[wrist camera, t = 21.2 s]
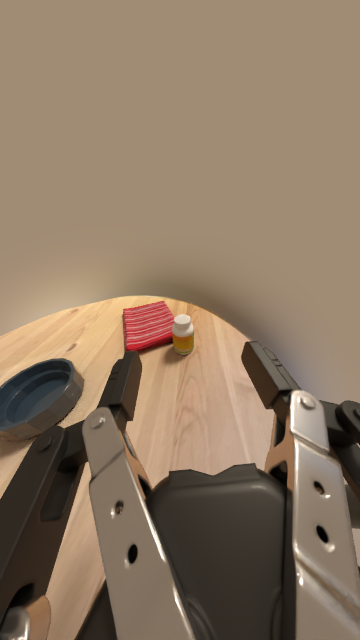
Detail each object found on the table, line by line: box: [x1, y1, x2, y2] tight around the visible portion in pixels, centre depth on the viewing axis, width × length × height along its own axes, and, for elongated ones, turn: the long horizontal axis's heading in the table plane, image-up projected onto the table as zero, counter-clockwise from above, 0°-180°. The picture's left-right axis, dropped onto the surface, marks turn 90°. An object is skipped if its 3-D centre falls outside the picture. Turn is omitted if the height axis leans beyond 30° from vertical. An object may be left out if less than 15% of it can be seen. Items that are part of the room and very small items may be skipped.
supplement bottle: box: [172, 315, 194, 355], centre depth 36 cm, size 5×5×10 cm
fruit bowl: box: [0, 358, 84, 441], centre depth 27 cm, size 13×13×5 cm
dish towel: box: [123, 301, 174, 352], centre depth 47 cm, size 17×24×3 cm
